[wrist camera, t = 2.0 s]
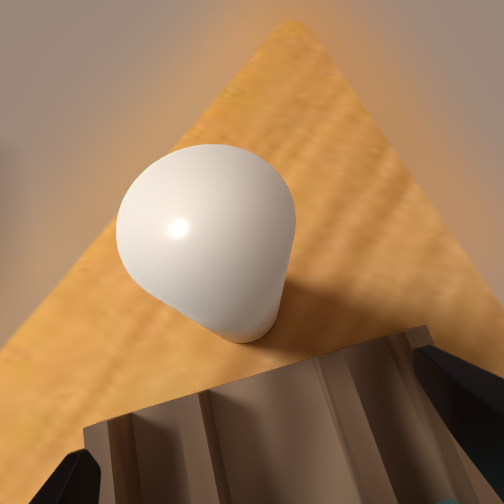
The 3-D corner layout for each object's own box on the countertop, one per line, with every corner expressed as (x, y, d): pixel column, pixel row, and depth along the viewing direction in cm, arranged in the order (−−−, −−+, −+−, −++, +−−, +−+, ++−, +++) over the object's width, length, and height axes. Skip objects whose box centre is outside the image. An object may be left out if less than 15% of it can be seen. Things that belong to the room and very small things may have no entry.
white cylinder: (294, 300, 21) (332, 208, 9) (244, 360, 20) (207, 351, 7) (238, 254, 22) (203, 117, 10) (188, 308, 21) (79, 228, 9)
